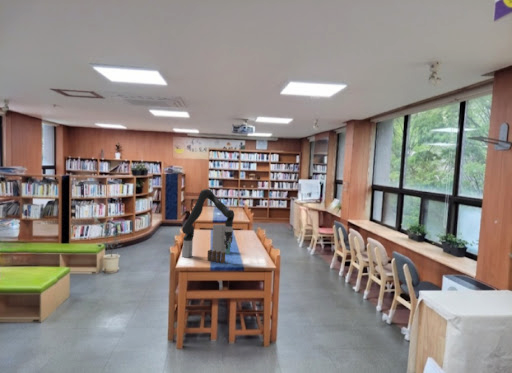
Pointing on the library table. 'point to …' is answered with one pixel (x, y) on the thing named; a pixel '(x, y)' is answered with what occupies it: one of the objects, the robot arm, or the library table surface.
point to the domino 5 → (228, 249)
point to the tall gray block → (219, 238)
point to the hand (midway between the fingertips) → (228, 248)
